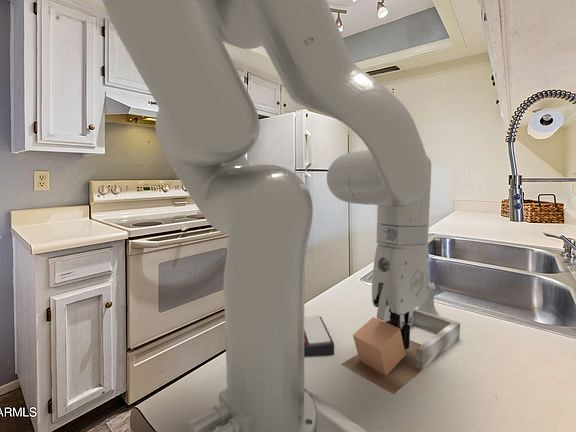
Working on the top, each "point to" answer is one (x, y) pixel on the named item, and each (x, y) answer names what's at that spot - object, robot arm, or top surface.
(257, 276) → the robot arm
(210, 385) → the top surface
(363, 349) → the block
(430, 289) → the rook chess piece
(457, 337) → the metal sorting tray
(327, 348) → the calculator
